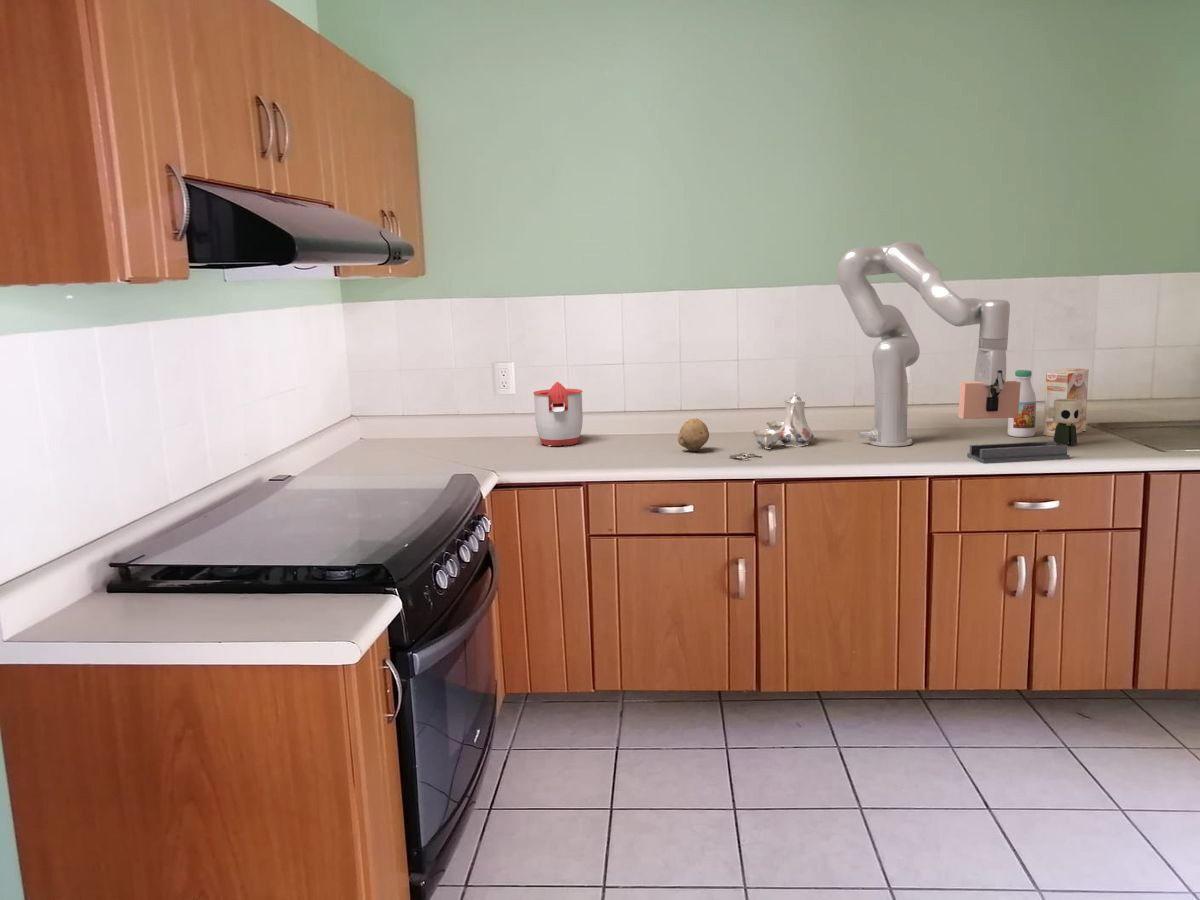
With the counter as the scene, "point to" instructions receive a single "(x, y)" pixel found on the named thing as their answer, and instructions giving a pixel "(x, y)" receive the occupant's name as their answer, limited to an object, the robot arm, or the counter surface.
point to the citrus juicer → (558, 415)
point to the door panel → (976, 399)
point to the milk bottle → (1024, 408)
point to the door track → (1018, 452)
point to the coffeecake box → (1065, 394)
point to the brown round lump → (693, 435)
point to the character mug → (1066, 419)
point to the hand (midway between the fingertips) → (988, 409)
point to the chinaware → (787, 427)
